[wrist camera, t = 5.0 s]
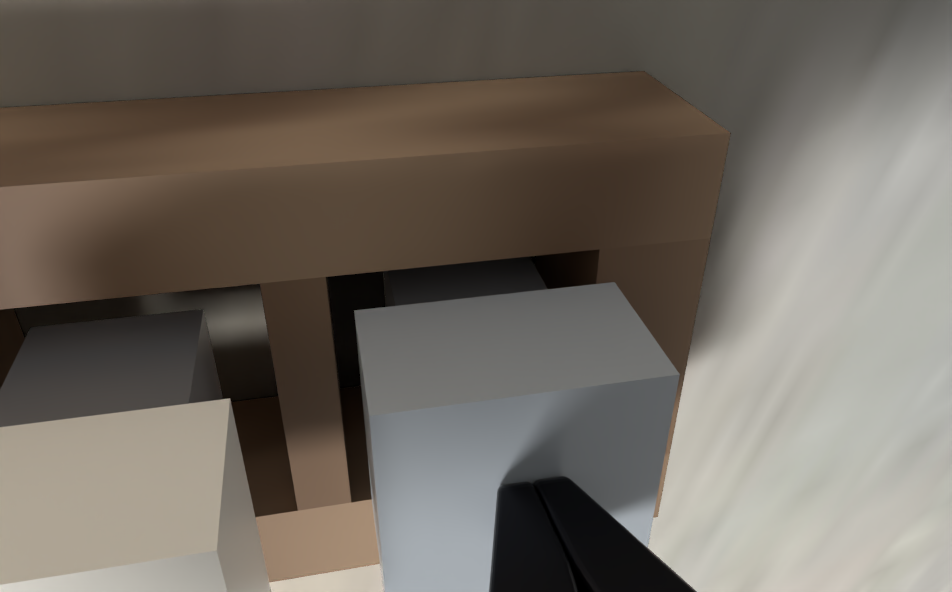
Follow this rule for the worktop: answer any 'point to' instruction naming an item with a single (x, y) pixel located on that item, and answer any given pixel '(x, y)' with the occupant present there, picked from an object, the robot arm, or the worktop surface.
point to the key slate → (502, 410)
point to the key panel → (355, 235)
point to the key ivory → (123, 463)
